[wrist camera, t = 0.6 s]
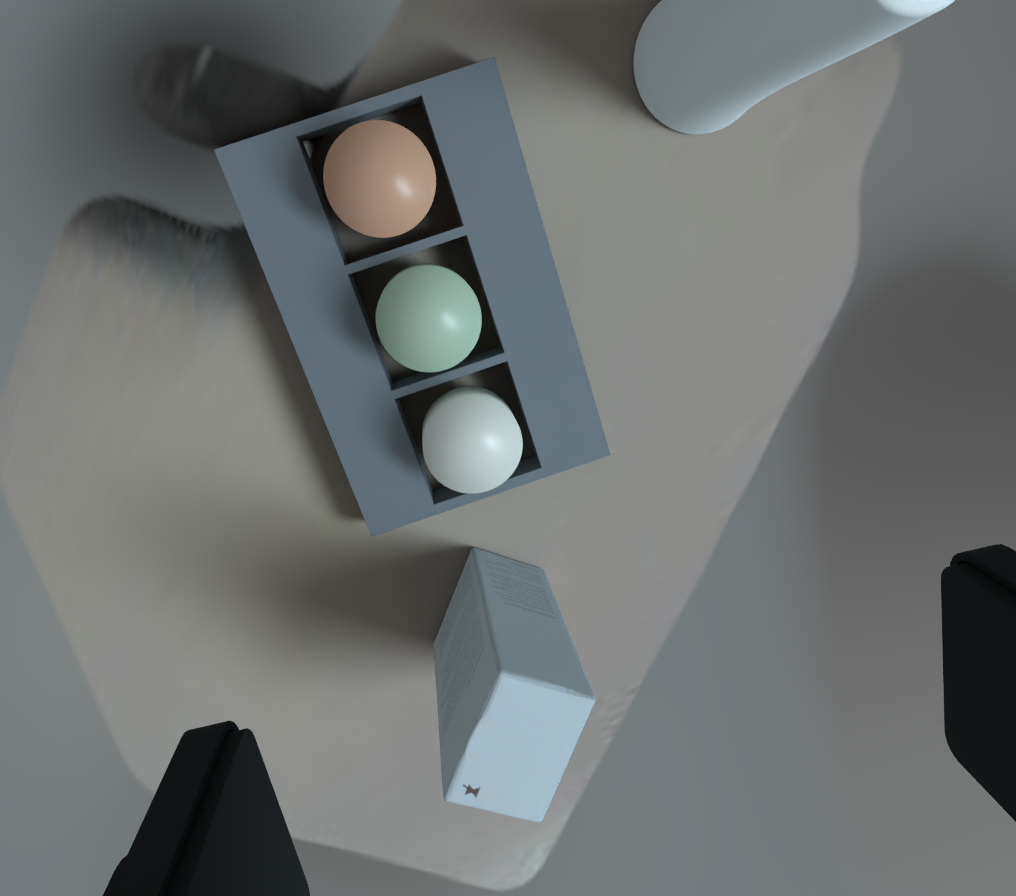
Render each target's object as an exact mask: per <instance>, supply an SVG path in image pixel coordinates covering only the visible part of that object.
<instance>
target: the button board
mask: <svg viewBox="0 0 1016 896" xmlns="http://www.w3.org/2000/svg"><path fill="white" fill-rule="evenodd" d="M418 103H422V106H423V109H424V112H425V116H426V119H427V122H428V125H429V128H430V131H431V134H432V137H433V140H434V143H435V146H436V150H437V153H438V156H439V159H440V162H441V165H442V168H443V171H444V174H445V177H446V180H447V184H448V187H449V190H450V193H451V196H452V199H453V202H454V205H455V208H456V211H457V214H458V218H459V221H460V224H461V226H458V227H455V228H452V229H449V230H446V231H443V232H440V233H437V234H434V235H431V236H428V237H425V238H422V239H420V240H417V241H414V242H411V243H408V244H405V245H402V246H399V247H396V248H393V249H390V250H387V251H384V252H381V253H378V254H375V255H372V256H369V257H366V258H363V259H360V260H357V261H354V262H351V263H348V261H347V259H346V256H345V253H344V251H343V248H342V245H341V243H340V240H339V237H338V235H337V232H336V229H335V227H334V224H333V221H332V219H331V216H330V213H329V210H328V208H327V205H326V202H325V200H324V197H323V194H322V192H321V189H320V186H319V184H318V181H317V178H316V176H315V173H314V170H313V168H312V165H311V162H310V159H309V157H308V154H307V151H306V149H305V146H304V143H303V141H306V140H309V139H312V138H315V137H318V136H321V135H324V134H327V133H330V132H333V131H336V130H339V129H342V128H345V127H348V126H351V125H354V124H357V123H360V122H363V121H366V120H369V119H372V118H375V117H378V116H381V115H384V114H387V113H391V112H394V111H397V110H400V109H403V108H406V107H409V106H412V105H415V104H418ZM214 151H215V154H216V156H217V159H218V161H219V163H220V166H221V168H222V171H223V173H224V176H225V178H226V180H227V183H228V185H229V188H230V190H231V193H232V195H233V198H234V200H235V203H236V205H237V208H238V210H239V213H240V215H241V217H242V220H243V222H244V225H245V227H246V230H247V232H248V235H249V237H250V240H251V242H252V244H253V247H254V249H255V252H256V254H257V257H258V259H259V262H260V264H261V267H262V269H263V271H264V274H265V276H266V279H267V281H268V284H269V286H270V289H271V291H272V294H273V296H274V298H275V301H276V303H277V306H278V308H279V311H280V313H281V316H282V318H283V321H284V323H285V326H286V328H287V330H288V333H289V335H290V338H291V340H292V343H293V345H294V348H295V350H296V353H297V355H298V357H299V360H300V362H301V365H302V367H303V370H304V372H305V375H306V377H307V380H308V382H309V384H310V387H311V389H312V392H313V394H314V397H315V399H316V402H317V404H318V407H319V409H320V411H321V414H322V416H323V419H324V421H325V424H326V426H327V429H328V431H329V434H330V436H331V438H332V441H333V443H334V446H335V448H336V451H337V453H338V456H339V458H340V461H341V463H342V465H343V468H344V470H345V473H346V475H347V478H348V480H349V483H350V485H351V488H352V490H353V492H354V495H355V497H356V500H357V502H358V505H359V507H360V510H361V512H362V515H363V517H364V519H365V522H366V524H367V527H368V529H369V532H370V534H371V537H372V536H375V535H378V534H381V533H384V532H386V531H389V530H392V529H395V528H398V527H401V526H404V525H407V524H410V523H413V522H416V521H419V520H422V519H424V518H427V517H430V516H433V515H436V514H439V513H442V512H445V511H448V510H451V509H454V508H457V507H459V506H462V505H465V504H468V503H471V502H474V501H477V500H480V499H483V498H486V497H489V496H492V495H495V494H497V493H500V492H503V491H506V490H509V489H512V488H515V487H518V486H521V485H524V484H527V483H530V482H533V481H535V480H538V479H541V478H544V477H547V476H550V475H553V474H556V473H559V472H562V471H565V470H568V469H570V468H573V467H576V466H579V465H582V464H585V463H588V462H591V461H594V460H597V459H600V458H603V457H606V456H608V455H610V452H609V449H608V445H607V442H606V439H605V435H604V432H603V428H602V425H601V421H600V418H599V415H598V411H597V408H596V404H595V401H594V397H593V394H592V391H591V387H590V384H589V380H588V377H587V373H586V370H585V367H584V363H583V360H582V356H581V353H580V349H579V346H578V343H577V339H576V336H575V332H574V329H573V325H572V322H571V319H570V315H569V312H568V308H567V305H566V302H565V298H564V295H563V291H562V288H561V284H560V281H559V278H558V274H557V271H556V267H555V264H554V260H553V257H552V254H551V250H550V247H549V243H548V240H547V236H546V233H545V230H544V226H543V223H542V219H541V216H540V212H539V209H538V206H537V202H536V199H535V195H534V192H533V188H532V185H531V182H530V178H529V175H528V171H527V168H526V164H525V161H524V158H523V154H522V151H521V147H520V144H519V140H518V137H517V134H516V130H515V127H514V123H513V120H512V116H511V113H510V110H509V106H508V103H507V99H506V96H505V93H504V89H503V86H502V82H501V79H500V75H499V72H498V69H497V65H496V62H495V58H494V57H493V58H490V59H487V60H484V61H481V62H478V63H475V64H472V65H469V66H466V67H463V68H460V69H457V70H454V71H451V72H448V73H445V74H442V75H439V76H435V77H432V78H429V79H426V80H423V81H420V82H417V83H414V84H411V85H408V86H405V87H402V88H399V89H396V90H393V91H390V92H387V93H384V94H381V95H378V96H375V97H372V98H369V99H366V100H363V101H360V102H357V103H354V104H351V105H348V106H345V107H342V108H339V109H336V110H333V111H330V112H327V113H324V114H321V115H318V116H314V117H311V118H308V119H305V120H302V121H299V122H296V123H293V124H290V125H287V126H284V127H281V128H278V129H275V130H272V131H269V132H266V133H263V134H260V135H257V136H254V137H251V138H248V139H245V140H242V141H239V142H236V143H233V144H230V145H227V146H224V147H221V148H218V149H215V150H214ZM462 236H465V239H466V242H467V245H468V248H469V251H470V255H471V258H472V261H473V264H474V267H475V270H476V273H477V276H478V279H479V282H480V285H481V289H482V292H483V295H484V298H485V301H486V304H487V307H488V310H489V313H490V316H491V319H492V323H493V326H494V329H495V332H496V335H497V338H498V341H499V344H500V346H499V347H496V348H493V349H490V350H487V351H484V352H481V353H478V354H475V355H472V356H469V357H466V358H465V359H464V360H462V361H461V362H460V363H459V364H457V365H455V366H453V367H451V368H449V369H446V370H443V371H438V372H422V373H419V374H416V375H413V376H410V377H407V378H404V379H401V380H398V381H395V382H392V379H391V377H390V374H389V371H388V369H387V366H386V363H385V361H384V358H383V355H382V353H381V350H380V347H379V345H378V342H377V339H376V337H375V334H374V331H373V329H372V326H371V323H370V320H369V318H368V315H367V312H366V310H365V307H364V304H363V302H362V299H361V296H360V294H359V291H358V288H357V286H356V283H355V280H354V278H353V275H352V273H355V272H358V271H361V270H364V269H367V268H370V267H373V266H376V265H379V264H382V263H385V262H388V261H391V260H394V259H397V258H399V257H402V256H405V255H408V254H411V253H414V252H417V251H420V250H423V249H426V248H429V247H432V246H435V245H438V244H441V243H444V242H447V241H450V240H453V239H456V238H459V237H462ZM503 362H505V363H506V366H507V369H508V372H509V375H510V378H511V381H512V384H513V387H514V391H515V394H516V397H517V400H518V403H519V406H520V409H521V412H522V415H523V418H524V421H525V425H526V428H527V431H528V434H529V437H530V440H531V443H532V446H533V449H534V452H535V455H536V456H533V457H531V458H528V459H525V460H522V461H519V464H518V466H517V468H516V469H515V471H514V472H513V474H512V475H511V476H510V477H509V478H508V479H507V480H506V481H505V482H504V483H502V484H501V485H499V486H498V487H496V488H494V489H492V490H489V491H486V492H482V493H472V494H469V493H461V492H457V491H454V490H452V489H450V488H448V487H443V488H440V489H437V490H434V491H433V489H432V487H431V484H430V481H429V479H428V476H427V473H426V471H425V468H424V465H423V463H422V460H421V457H420V455H419V452H418V449H417V447H416V444H415V441H414V438H413V436H412V433H411V430H410V428H409V425H408V422H407V420H406V417H405V414H404V412H403V409H402V406H401V404H400V401H399V398H400V397H403V396H406V395H409V394H412V393H415V392H418V391H421V390H423V389H426V388H429V387H432V386H435V385H438V384H441V383H444V382H447V381H450V380H453V379H456V378H459V377H462V376H465V375H468V374H471V373H474V372H477V371H480V370H482V369H485V368H488V367H491V366H494V365H497V364H500V363H503Z"/></svg>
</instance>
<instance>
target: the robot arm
mask: <svg viewBox="0 0 1016 896" xmlns="http://www.w3.org/2000/svg"><path fill="white" fill-rule="evenodd" d="M941 597H942V598H941V599H942V638H943V639H942V640H943V676H944V677H943V679H944V680H943V681H944V718H945V719H944V720H945V735H946V739H947V743H948V745H949V747H950V749H951V751H952V753H953V755H954V756H955V758H956V759H957V760H958V762H959V763H960V764H961V765H962V766H963V767H964V768H965V769H966V770H967V771H968V772H969V773H970V774H971V775H972V776H973V777H974V778H975V779H976V781H977V782H978V783H979V784H981V786H982V787H983V788H984V789H985V790H986V791H987V792H988V793H989V794H990V795H991V796H992V797H993V798H994V799H995V800H996V801H997V802H998V804H999V805H1000V806H1002V808H1003V809H1004V810H1005V811H1006V812H1007V813H1008V814H1009V815H1010V816H1011V817H1012V818H1013V819H1014V820H1015V821H1016V551H1014V550H1013V549H1011V548H1009V547H1007V546H1004V545H1002V544H1000V545H992V546H987V547H983V548H979V549H974V550H970V551H966V552H961V553H958V554H956V555H955V556H953V558H952V561H951V562H950V567H946V568H945V569H944V570H943V572H942V575H941ZM103 896H310V893H309V888H308V884H307V881H306V878H305V875H304V872H303V870H302V867H301V864H300V861H299V859H298V856H297V853H296V850H295V848H294V845H293V842H292V839H291V836H290V833H289V831H288V828H287V825H286V822H285V820H284V817H283V814H282V811H281V809H280V806H279V803H278V800H277V797H276V795H275V792H274V789H273V786H272V784H271V781H270V778H269V775H268V773H267V770H266V767H265V764H264V761H263V759H262V756H261V753H260V750H259V748H258V745H257V742H256V739H255V737H254V735H253V733H252V731H251V730H250V729H243V730H239V729H238V727H237V725H236V724H235V723H234V722H232V721H226V722H222V723H218V724H213V725H209V726H205V727H200V728H196V729H192V730H188V731H186V732H185V733H184V734H183V736H182V737H181V739H180V742H179V744H178V746H177V748H176V750H175V753H174V755H173V757H172V759H171V761H170V763H169V766H168V768H167V770H166V772H165V774H164V776H163V779H162V781H161V783H160V785H159V787H158V789H157V792H156V794H155V796H154V798H153V800H152V803H151V805H150V807H149V809H148V811H147V814H146V816H145V818H144V820H143V822H142V825H141V827H140V829H139V831H138V833H137V835H136V837H135V840H134V842H133V844H132V846H131V848H130V850H129V853H128V855H127V856H126V857H124V858H123V859H122V860H121V862H120V863H119V865H118V866H117V868H116V869H115V871H114V873H113V875H112V877H111V880H110V882H109V884H108V886H107V888H106V890H105V892H104V894H103Z"/></svg>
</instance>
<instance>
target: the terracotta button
mask: <svg viewBox="0 0 1016 896" xmlns="http://www.w3.org/2000/svg"><path fill="white" fill-rule="evenodd" d="M323 181H324V188H325V192H326V195H327V198H328V201H329V203H330V205H331V207H332V208H333V210H334V212H335V213H336V214H337V216H338V217H339V218H340V219H341V220H342V221H343V222H344V223H345V224H346V225H348V226H349V227H350V228H352V229H354V230H355V231H357V232H359V233H362V234H364V235H368V236H371V237H378V238H387V237H394V236H397V235H401V234H403V233H405V232H407V231H409V230H411V229H412V228H414V227H415V226H416V225H417V224H419V222H420V221H421V220H422V219H423V218H424V217H425V215H426V214H427V213H428V211H429V209H430V207H431V205H432V202H433V199H434V195H435V190H436V174H435V168H434V164H433V161H432V159H431V156H430V154H429V152H428V150H427V148H426V147H425V146H424V144H423V143H422V142H421V141H420V139H419V138H418V137H417V136H416V135H414V134H413V133H412V132H411V131H409V130H408V129H406V128H405V127H403V126H401V125H399V124H396V123H393V122H390V121H384V120H370V121H364V122H361V123H358V124H356V125H353V126H351V127H350V128H348V129H347V130H345V131H344V132H343V133H342V134H340V136H339V137H338V138H337V139H336V140H335V141H334V143H333V144H332V146H331V148H330V149H329V151H328V154H327V157H326V159H325V164H324V171H323Z"/></svg>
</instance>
